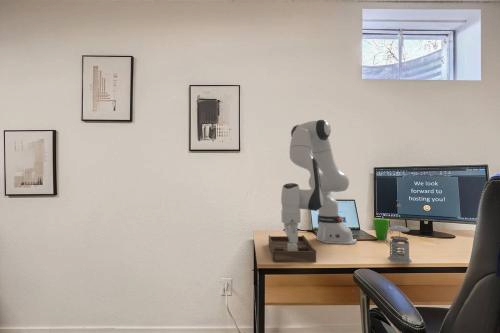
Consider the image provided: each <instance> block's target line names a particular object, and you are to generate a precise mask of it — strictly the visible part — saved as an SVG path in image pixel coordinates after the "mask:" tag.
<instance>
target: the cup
mask: <svg viewBox="0 0 500 333" xmlns="http://www.w3.org/2000/svg"><path fill="white" fill-rule="evenodd" d="M372 221H373V227H374V231H375V238H376V239H377V240H379V241H387V238H388V234H387V233H388V232H387V231H389V224H390V220H389V219H384V218H374V219H373V220H372ZM386 232H387V233H386ZM385 233H386V235H385ZM384 236H385V238H384Z"/></svg>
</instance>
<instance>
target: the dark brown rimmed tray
mask: <svg viewBox="0 0 500 333" xmlns="http://www.w3.org/2000/svg"><path fill="white" fill-rule="evenodd" d="M287 243H289V239H288V237H287V235H286V236H284V235H283V236H273V235H268V247H269V251H270V254H271V260H272V263H317V250H316V248H315V247H314V246H313V244H311V243H310V242H309V240H308V239H307V238H306V237H305V235H301V236H299V235H298V243H296V244H297V251H288V248H287Z"/></svg>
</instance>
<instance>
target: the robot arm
mask: <svg viewBox="0 0 500 333" xmlns="http://www.w3.org/2000/svg"><path fill="white" fill-rule="evenodd" d="M331 130H332V128H331V125H330V122H328V121H327V120H326V119H318V120H312V121H307V122H304V123H300V124H296V125H294V126H293V127H292V129H291V131H290V134H291V135H290V136H291V139H290V142H289V143H290V144H289V159H290V161H291V162H292V163H293V164H294V165H295V166H298V167H300V168H302V169H304V170H305V169H306V170H307V171H308V172H309V174H310V176H309V178H308V186H309V188H310V189H300V185H299V184H297V183H293V182H292V183H286V184H283V185H282V188H281V198H280V199H281V200H280V202H281V207H282V208H281V211H280V212H281V214H280V215H281V223H283V226H284V227H283V228H284V232H285V235H286V236H287V237H288V239H289V243H298V236H299V234H298V233H299V230H298V226H299V224H300V223H301V210H309V211H313V212H314V211H315V212H317V211H318V215H317V225H318V226H317V231H316V232H317V233H316V237H315V240H317V241H319V242H322V243H325V244H338V245H354V244H356V243H357V238H356V239H353V236H354V235H353V232H352V230H351V228H350V227H348V226H347V225H346V224H344V222H342V220H343V216H340V215H339V203H338V201H337V199H336V198H334V197H333V195H332V193H333V192H334V193H340V192H344V191H347V190H348V188H349V185H350V179H349V177H348V175H347V174H345V173H343V172H342V170H340V169H339V167H338V166H337V164H336V161H335V158H334V154H333V150H332V145H331V141H330V138H329V137H330V135H331ZM320 171H321V172H320Z"/></svg>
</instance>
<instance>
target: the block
mask: <svg viewBox="0 0 500 333" xmlns="http://www.w3.org/2000/svg"><path fill="white" fill-rule="evenodd" d="M287 248H288V251H297V244H296V243H287Z"/></svg>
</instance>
